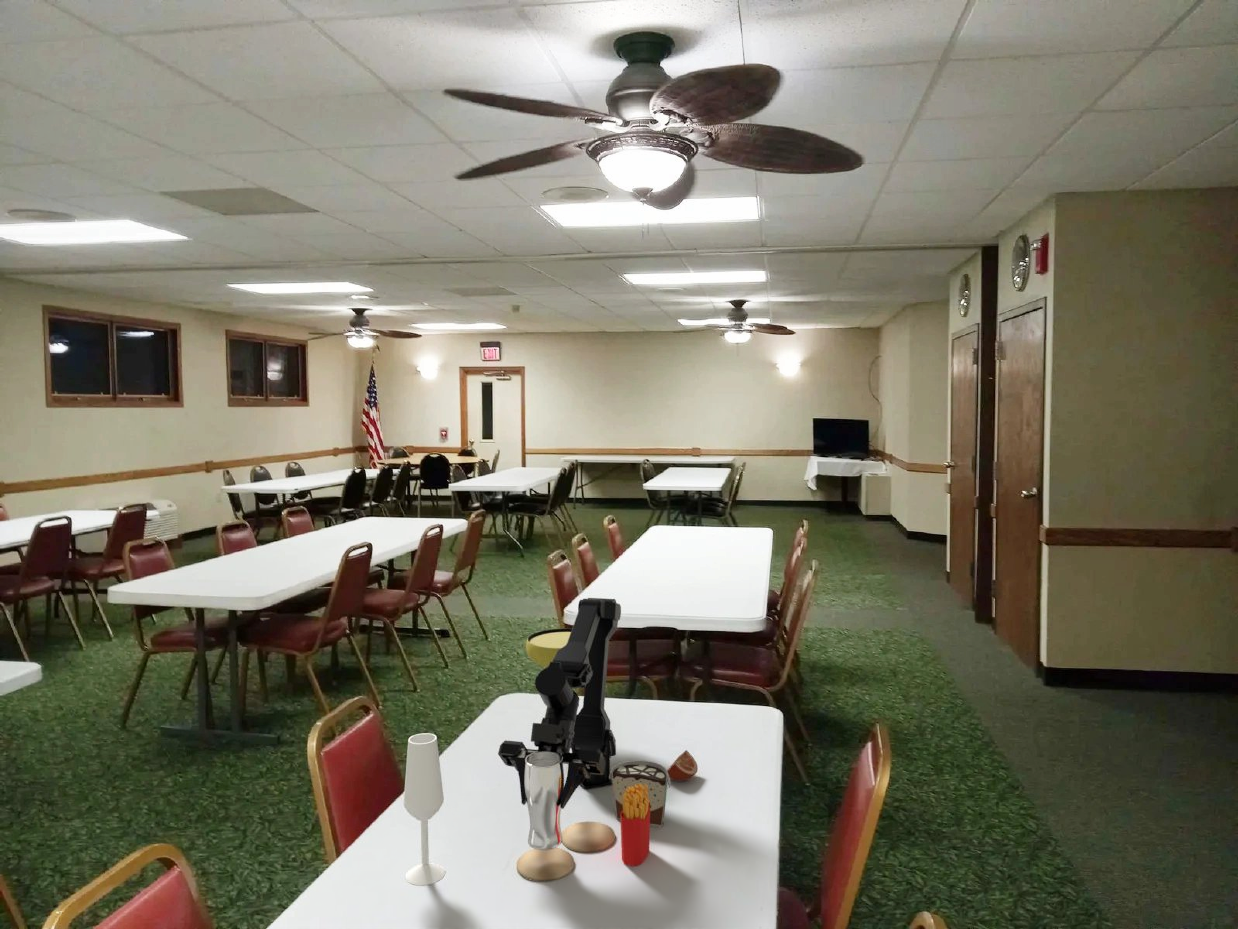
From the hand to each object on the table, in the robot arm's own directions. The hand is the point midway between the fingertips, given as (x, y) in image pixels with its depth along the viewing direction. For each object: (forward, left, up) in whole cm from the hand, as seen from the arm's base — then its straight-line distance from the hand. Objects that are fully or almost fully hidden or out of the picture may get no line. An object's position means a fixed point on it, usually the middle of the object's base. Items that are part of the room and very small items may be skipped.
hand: (542, 806), depth 144 cm
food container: (-24, -11, -12) cm, 29 cm away
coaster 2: (-11, -7, -11) cm, 17 cm away
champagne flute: (+19, -6, -11) cm, 23 cm away
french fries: (-17, +2, -12) cm, 20 cm away
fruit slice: (-38, -23, -12) cm, 46 cm away
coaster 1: (-1, -1, -11) cm, 11 cm away
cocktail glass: (-21, -53, -12) cm, 58 cm away
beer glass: (-1, -1, -7) cm, 7 cm away
